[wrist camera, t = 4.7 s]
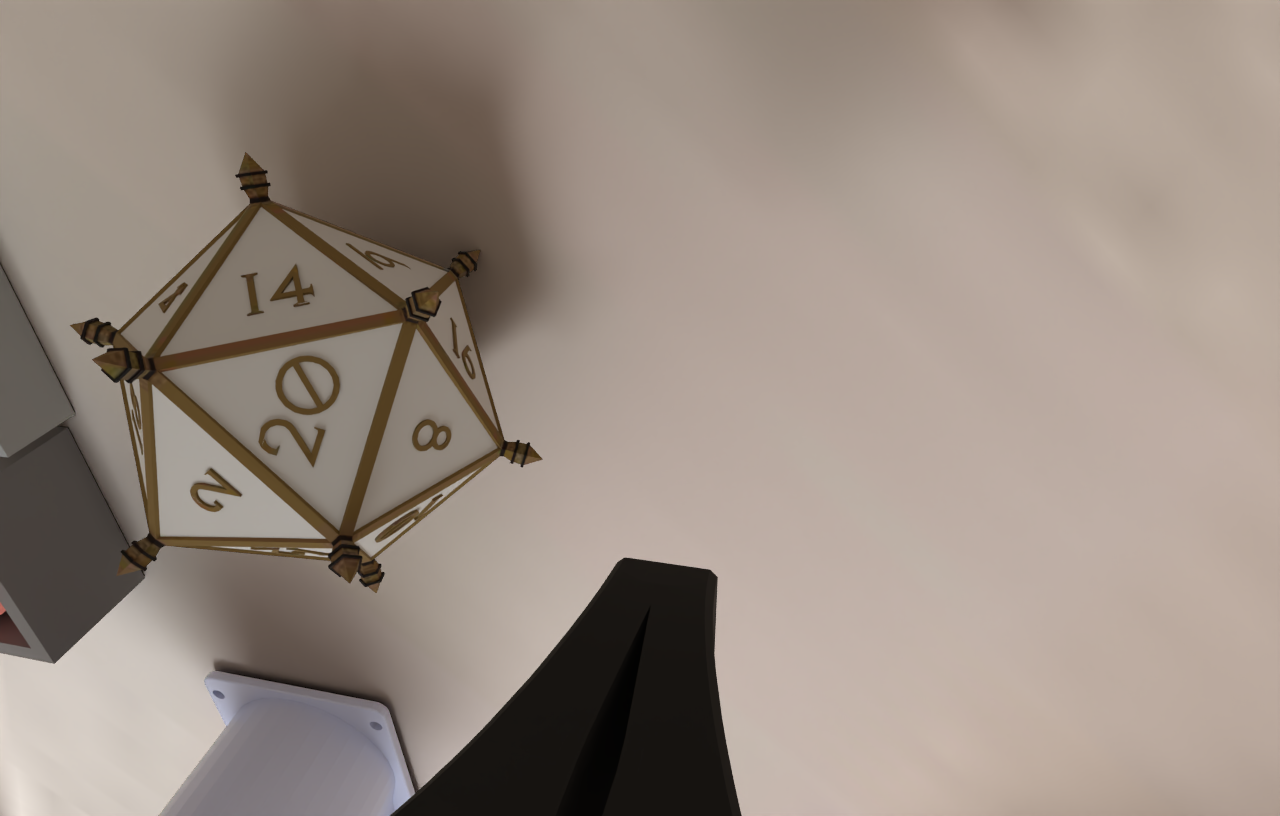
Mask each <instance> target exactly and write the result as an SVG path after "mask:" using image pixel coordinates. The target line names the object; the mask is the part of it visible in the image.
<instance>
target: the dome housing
mask: <svg viewBox="0 0 1280 816" xmlns="http://www.w3.org/2000/svg"><path fill="white" fill-rule="evenodd" d="M128 548H129V546H128V544H127V542H126V540H125V538H124V536H123V534H122V532H121V530H120V528H119V527H118V525H117V523H116V521H115V519H114V517H113V515H112V513H111V511H110V509H109V507H108V505H107V503H106V501H105V499H104V497H103V495H102V493H101V491H100V490H99V488H98V486H97V484H96V482H95V480H94V478H93V476H92V474H91V472H90V470H89V468H88V466H87V464H86V462H85V460H84V458H83V456H82V454H81V453H80V451H79V449H78V447H77V445H76V443H75V441H74V439H73V437H72V435H71V433H70V431H69V429H68V428H66V427H58V426H56V427H55V428H53V429H52V430H50V431H48V432H47V433H45V434H44V435H42V436H41V437H39V438H38V439H36V440H35V441H33V442H31V443H30V444H28V445H27V446H25V447H24V448H22V449H21V450H19V451H18V452H16V453H14V454H13V455H11V456H10V457H8V458H7V457H0V603H1V604H2V606H3V607H4V608H5V610H6V611H5V612H4V613H3V614H1V615H0V653H3V654H8V655H13V656H18V657H23V658H28V659H33V660H38V661H43V662H48V663H53V664H55V663H56V662H57V661H58V660H59V659H60V658H61V657H62V656H63V655H64V654H65V653H66V652H67V651H68V650H69V649H70V648H71V647H73V646H74V645H75V644H76V643H77V642H78V641H79V640H80V639H81V638H82V637H83V636H84V635H85V634H86V633H87V632H88V631H89V630H91V629H92V628H93V627H94V626H95V625H96V624H97V623H98V622H99V621H100V620H101V619H102V618H103V617H104V616H105V615H106V614H107V613H108V612H110V611H111V610H112V609H113V608H114V607H115V606H116V605H117V604H118V603H119V602H120V601H121V600H122V599H123V598H124V597H125V596H126V595H128V594H129V593H130V592H131V591H132V590H133V589H134V588H135V587H136V586H137V585H138V584H139V583H140V582H141V581H142V580H143V579H144V578H145V577H144V575H143V573H142V571H141V570H138V571H134V572H130V573H126V574H123V575H119V576H116V575H117V572H118V568H119V564H120V561H121V557H122V553H121V552H120V551H122V550H127V549H128Z"/></svg>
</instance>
